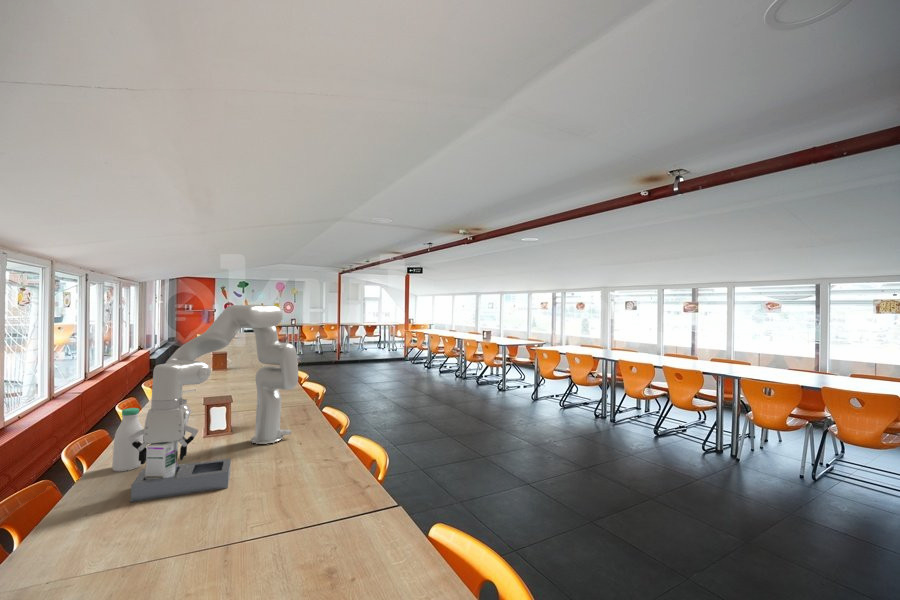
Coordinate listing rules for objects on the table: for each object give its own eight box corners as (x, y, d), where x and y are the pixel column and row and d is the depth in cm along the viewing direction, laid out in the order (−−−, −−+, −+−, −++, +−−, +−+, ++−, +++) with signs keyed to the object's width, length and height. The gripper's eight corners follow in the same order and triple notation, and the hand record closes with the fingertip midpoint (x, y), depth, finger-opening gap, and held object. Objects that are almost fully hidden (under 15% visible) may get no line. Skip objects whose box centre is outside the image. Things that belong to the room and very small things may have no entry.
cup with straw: (178, 432, 171) (181, 387, 171) (196, 433, 169) (199, 388, 170) (161, 438, 162) (164, 390, 163) (180, 439, 161) (183, 392, 162)
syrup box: (163, 494, 114) (166, 445, 114) (143, 494, 114) (146, 444, 114) (176, 486, 120) (179, 439, 120) (157, 485, 120) (160, 438, 120)
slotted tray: (230, 473, 130) (231, 458, 130) (227, 488, 119) (228, 471, 120) (141, 485, 119) (142, 468, 120) (130, 502, 109) (131, 484, 109)
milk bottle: (143, 467, 132) (146, 409, 133) (113, 474, 126) (117, 413, 127) (139, 461, 137) (142, 405, 138) (110, 467, 132) (114, 408, 133)
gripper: (201, 399, 125) (198, 452, 124) (134, 403, 117) (130, 460, 117) (198, 404, 118) (194, 461, 118) (127, 409, 111) (123, 469, 110)
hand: (163, 460), depth 117 cm, fingers open, 9 cm apart
